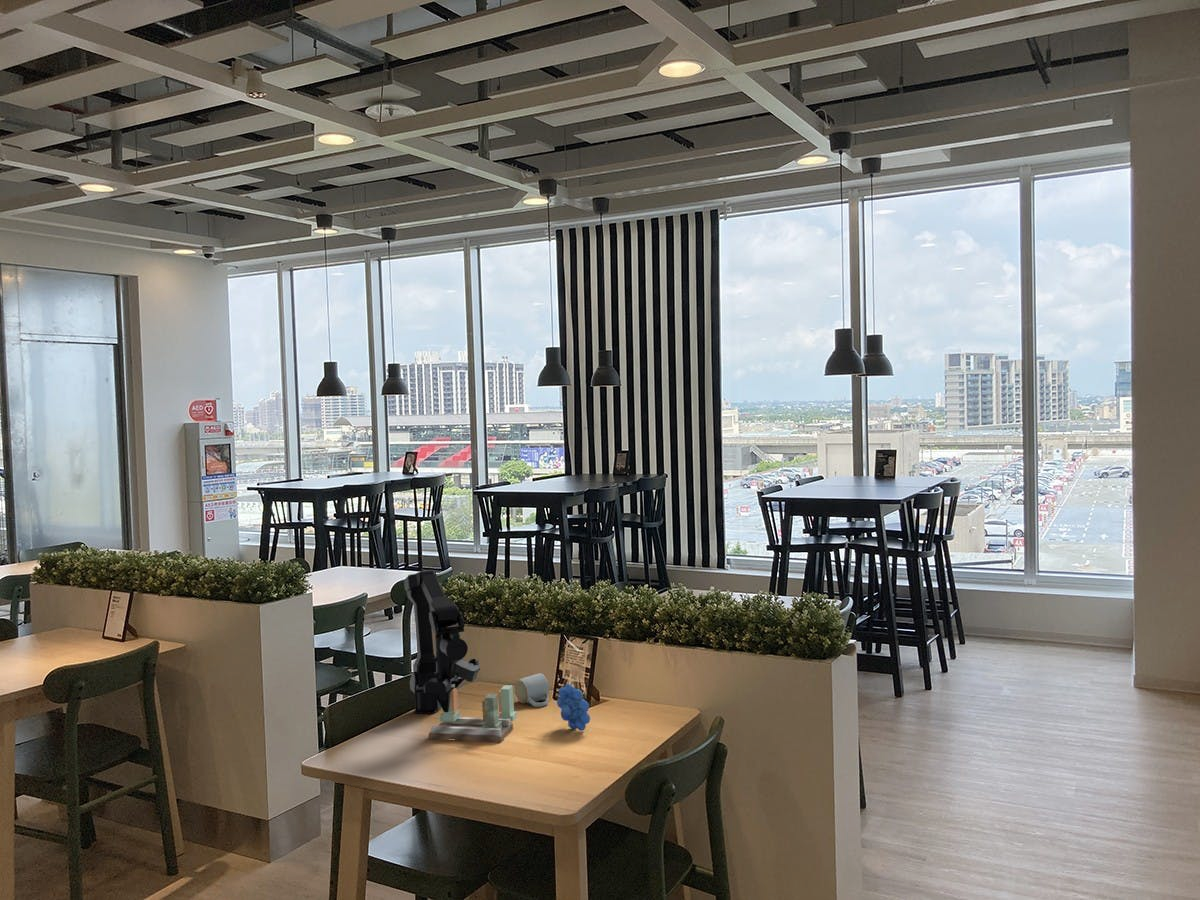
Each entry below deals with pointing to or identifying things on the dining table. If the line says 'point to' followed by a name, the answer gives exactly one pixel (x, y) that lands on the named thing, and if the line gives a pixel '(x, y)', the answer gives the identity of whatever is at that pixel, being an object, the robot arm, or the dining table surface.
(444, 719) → the stepped sage green block
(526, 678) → the ceramic mug
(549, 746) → the dining table surface
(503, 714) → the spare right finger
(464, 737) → the rail board
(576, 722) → the grapes
